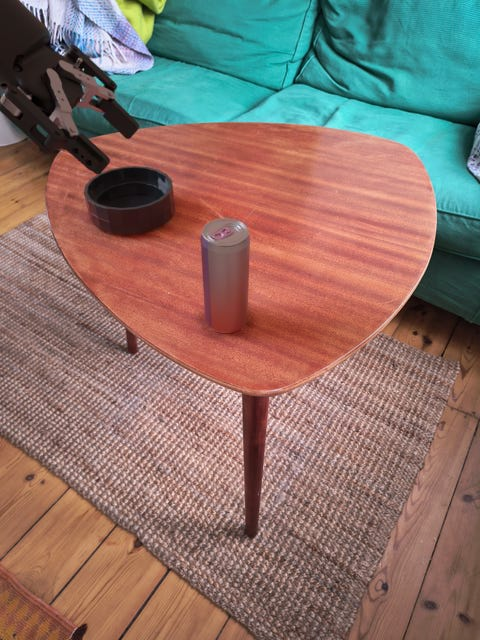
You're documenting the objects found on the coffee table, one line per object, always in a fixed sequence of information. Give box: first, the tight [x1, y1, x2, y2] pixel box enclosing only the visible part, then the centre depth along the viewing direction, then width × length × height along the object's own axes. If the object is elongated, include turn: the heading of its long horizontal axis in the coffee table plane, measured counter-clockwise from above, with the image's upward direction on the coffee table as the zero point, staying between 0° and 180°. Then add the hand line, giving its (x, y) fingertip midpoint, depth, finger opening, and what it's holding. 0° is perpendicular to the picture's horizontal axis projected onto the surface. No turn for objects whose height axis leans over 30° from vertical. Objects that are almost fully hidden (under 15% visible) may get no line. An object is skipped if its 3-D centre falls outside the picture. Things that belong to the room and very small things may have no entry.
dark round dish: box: [83, 165, 176, 236], centre depth 84 cm, size 15×15×6 cm
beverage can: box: [200, 217, 251, 334], centre depth 61 cm, size 6×6×15 cm
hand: (120, 149), depth 51 cm, fingers open, 8 cm apart
